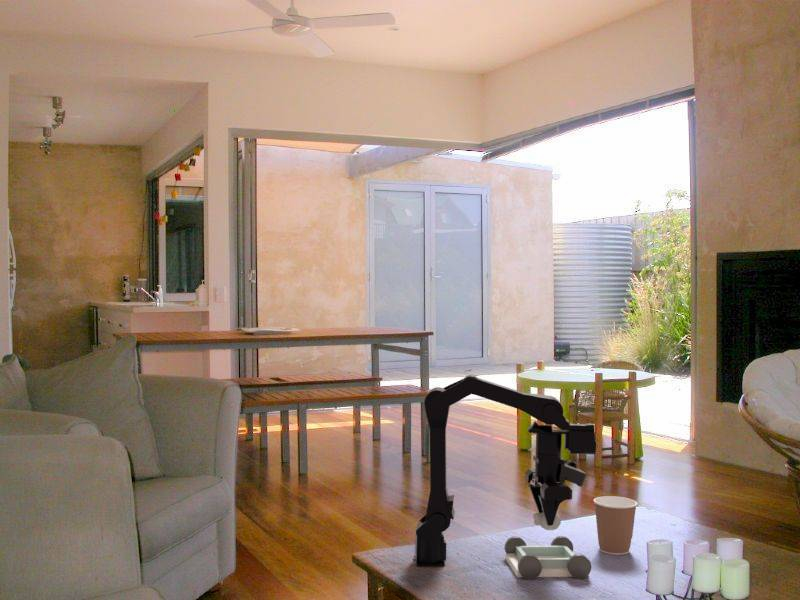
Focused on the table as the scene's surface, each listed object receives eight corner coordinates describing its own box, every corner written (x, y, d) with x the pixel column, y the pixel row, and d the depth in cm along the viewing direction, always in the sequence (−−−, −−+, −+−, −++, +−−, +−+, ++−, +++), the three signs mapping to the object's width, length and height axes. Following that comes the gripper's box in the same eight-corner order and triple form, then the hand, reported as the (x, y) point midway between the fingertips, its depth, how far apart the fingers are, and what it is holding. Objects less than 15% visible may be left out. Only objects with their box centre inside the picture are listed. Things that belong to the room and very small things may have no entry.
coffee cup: (645, 554, 203) (646, 504, 203) (609, 559, 200) (610, 508, 199) (619, 542, 213) (620, 494, 213) (584, 546, 209) (585, 497, 209)
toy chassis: (518, 579, 184) (519, 556, 184) (504, 557, 199) (504, 536, 199) (591, 578, 186) (591, 555, 186) (571, 556, 201) (571, 535, 201)
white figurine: (565, 532, 191) (566, 496, 191) (538, 534, 189) (539, 498, 189) (554, 525, 196) (555, 491, 196) (528, 527, 194) (528, 492, 194)
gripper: (596, 461, 184) (594, 533, 184) (571, 445, 202) (569, 510, 202) (545, 461, 183) (543, 533, 183) (525, 444, 201) (523, 510, 201)
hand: (546, 521), depth 192 cm, fingers closed on white figurine, 5 cm apart
